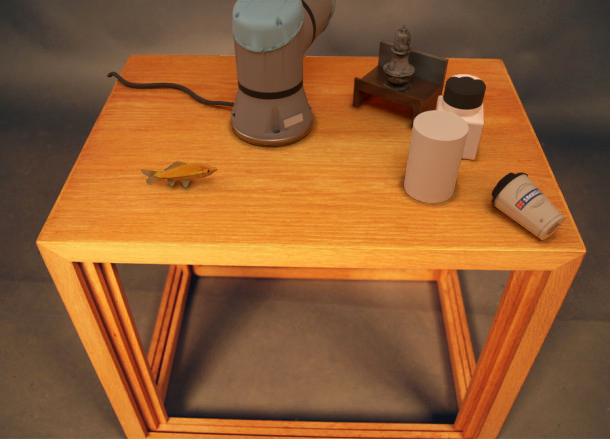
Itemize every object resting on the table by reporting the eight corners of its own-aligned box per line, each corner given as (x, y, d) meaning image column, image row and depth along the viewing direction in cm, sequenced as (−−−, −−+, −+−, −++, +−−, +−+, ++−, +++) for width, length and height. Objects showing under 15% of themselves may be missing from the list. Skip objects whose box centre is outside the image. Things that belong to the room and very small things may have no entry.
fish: (222, 177, 93) (214, 152, 89) (220, 185, 91) (212, 160, 88) (151, 185, 94) (140, 161, 91) (148, 193, 93) (137, 169, 90)
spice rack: (352, 106, 111) (355, 59, 104) (377, 85, 117) (382, 39, 110) (416, 129, 105) (424, 81, 98) (439, 106, 111) (448, 59, 104)
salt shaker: (392, 96, 104) (400, 34, 96) (375, 82, 108) (381, 21, 99) (418, 89, 106) (428, 27, 98) (400, 75, 110) (408, 15, 101)
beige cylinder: (454, 175, 95) (469, 114, 87) (453, 206, 89) (468, 144, 81) (406, 168, 96) (415, 107, 88) (401, 198, 90) (411, 136, 82)
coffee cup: (531, 252, 85) (484, 208, 90) (566, 225, 85) (518, 183, 90) (538, 232, 79) (487, 186, 84) (575, 203, 79) (523, 159, 84)
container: (475, 161, 98) (492, 95, 89) (429, 155, 99) (442, 90, 90) (474, 136, 103) (490, 71, 94) (431, 131, 104) (443, 67, 96)
